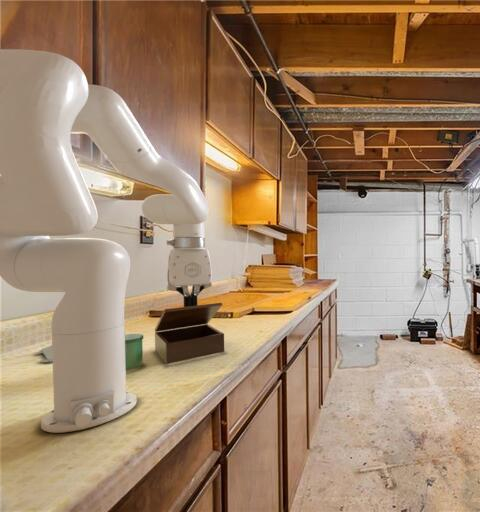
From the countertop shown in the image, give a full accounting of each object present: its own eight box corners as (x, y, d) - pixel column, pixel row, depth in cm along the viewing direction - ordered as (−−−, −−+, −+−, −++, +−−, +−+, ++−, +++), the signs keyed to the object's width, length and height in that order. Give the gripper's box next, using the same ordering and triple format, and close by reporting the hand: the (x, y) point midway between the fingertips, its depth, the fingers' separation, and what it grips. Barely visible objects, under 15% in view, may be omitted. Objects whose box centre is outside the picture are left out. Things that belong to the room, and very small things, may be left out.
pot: (145, 369, 77) (145, 337, 77) (111, 376, 73) (110, 342, 73) (141, 362, 82) (141, 332, 82) (109, 369, 77) (108, 336, 77)
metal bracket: (96, 323, 100) (108, 330, 91) (103, 339, 101) (116, 348, 92) (32, 346, 89) (38, 357, 80) (41, 364, 90) (48, 377, 81)
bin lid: (222, 305, 89) (222, 302, 89) (164, 312, 79) (164, 309, 79) (207, 323, 99) (207, 321, 99) (154, 332, 90) (154, 329, 90)
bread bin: (224, 354, 88) (224, 333, 88) (166, 366, 79) (166, 344, 79) (207, 342, 99) (207, 324, 99) (155, 352, 90) (154, 332, 90)
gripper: (159, 244, 79) (161, 316, 80) (222, 244, 90) (223, 308, 90) (153, 244, 84) (155, 311, 85) (214, 244, 95) (215, 304, 96)
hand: (190, 309), depth 88 cm, fingers closed
